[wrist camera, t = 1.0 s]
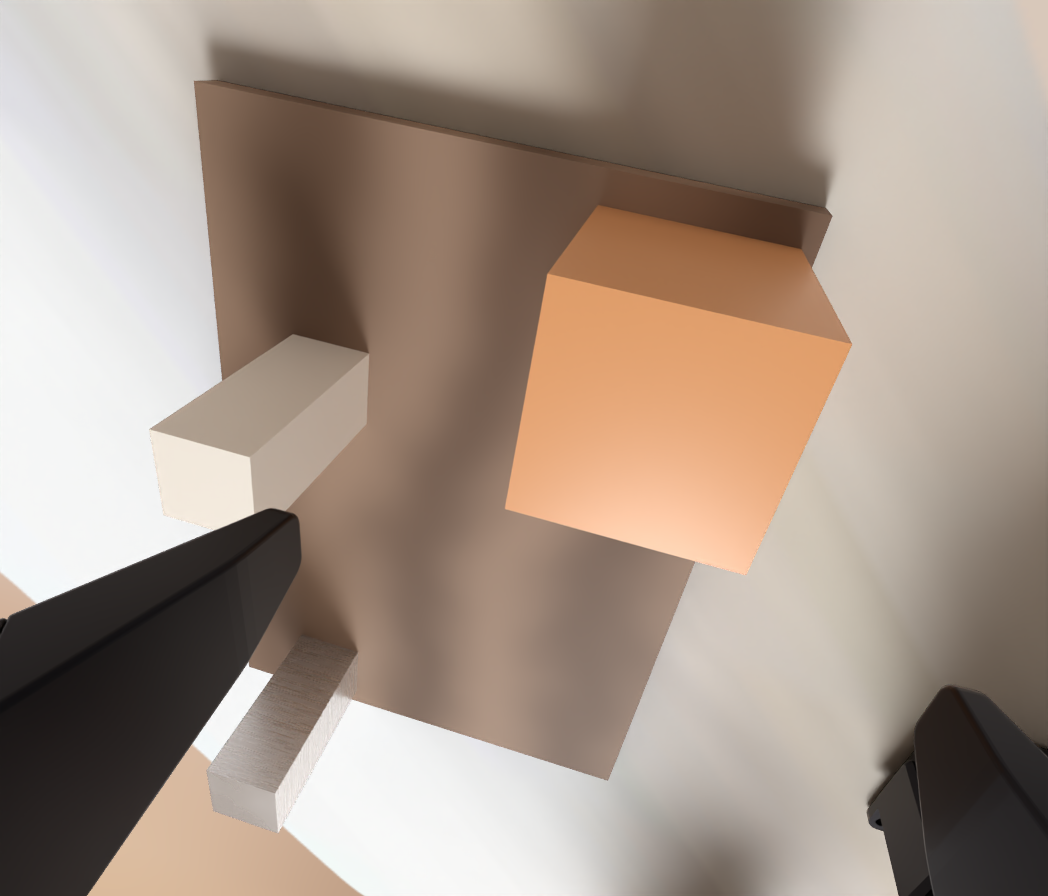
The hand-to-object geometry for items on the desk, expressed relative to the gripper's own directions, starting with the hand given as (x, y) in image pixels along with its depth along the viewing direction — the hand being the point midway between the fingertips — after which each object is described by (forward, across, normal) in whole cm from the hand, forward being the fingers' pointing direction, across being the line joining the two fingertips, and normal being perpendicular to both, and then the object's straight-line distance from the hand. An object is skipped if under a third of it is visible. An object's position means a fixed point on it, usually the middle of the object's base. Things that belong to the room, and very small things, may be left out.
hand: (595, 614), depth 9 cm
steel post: (+12, +10, +18) cm, 24 cm away
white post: (+12, +10, +4) cm, 16 cm away
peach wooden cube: (+11, 0, 0) cm, 11 cm away
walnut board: (+12, +5, +8) cm, 15 cm away
